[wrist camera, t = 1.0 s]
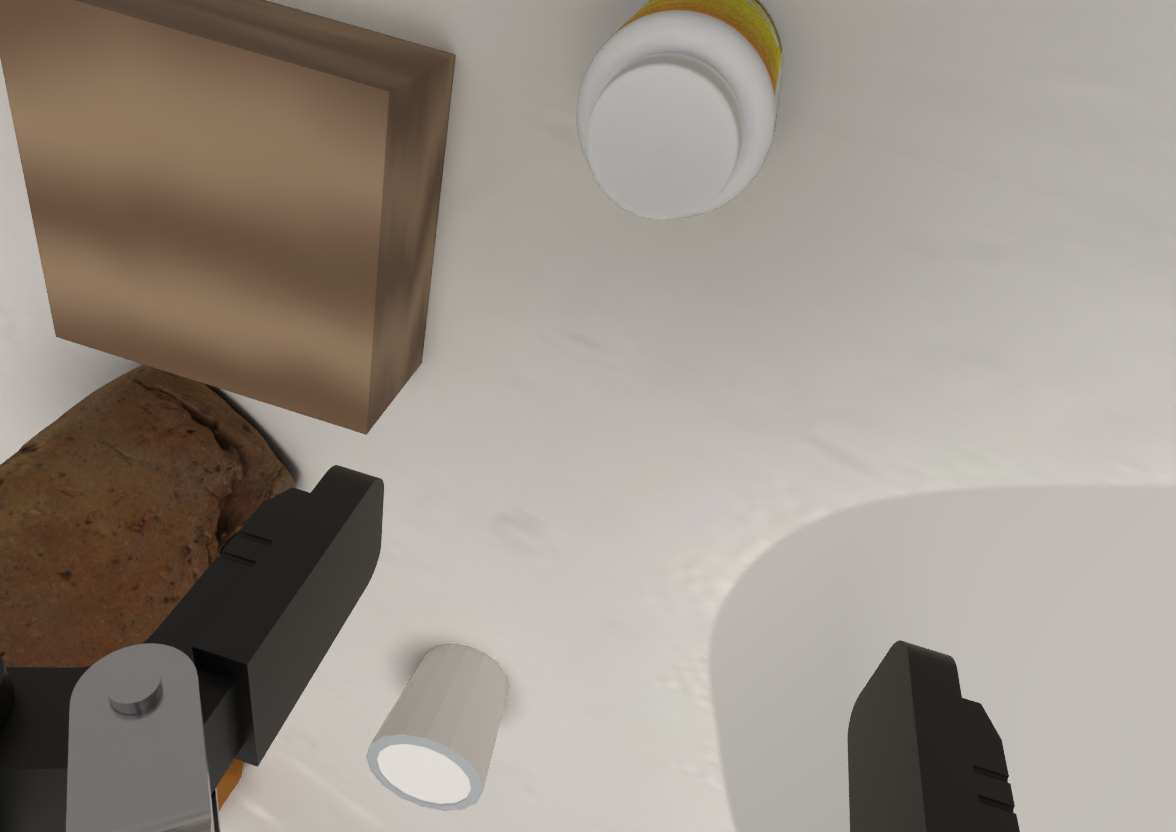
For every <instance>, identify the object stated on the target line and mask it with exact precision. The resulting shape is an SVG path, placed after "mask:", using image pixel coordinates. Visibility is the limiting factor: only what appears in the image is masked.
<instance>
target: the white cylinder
mask: <svg viewBox="0 0 1176 832" xmlns="http://www.w3.org/2000/svg"><path fill="white" fill-rule="evenodd" d="M508 688H509V687H508V681H507V676H506V674H505V673H504V671H503V670H502V668H501V667H500V665H499V664H498V663H497V662H495V661H494V660H493V659H491V658H490V657H489V656H487V655H486V654H485V653H482V652H480V651H478V650H475V649H473V648H471V647H468V646H461V645H454V644H448V645H442V646H436V647H435V648H433V649H432V650H431V651H429V652H428V653H426V655H425V657H424V658H423V660H422V662H421V663H420V665H419V666H418V668H417V670H416V671H415V673H414V674H413V676H412V678H411V679H410V681H409V683H408V684H407V686H406V687H405V689H404V691H403V692H402V694H401V696H400V697H399V699H398V700H397V702H396V704H395V705H394V707H393V709H392V710H391V712H390V713H389V715H388V717H387V718H386V720H385V721H384V723H383V725H382V726H381V728H380V730H379V731H378V733H377V734H376V736H375V738H374V739H373V741H372V743H371V744H370V747H369V750H368V753H367V755H366V758H367V761H368V764H369V767H370V770H371V772H372V773H373V774H374V775H375V776H376V778H377V779H378V780H379V781H380V782H381V783H382V785H384V786H385V787H386V788H388V789H389V790H391V791H392V792H394V793H395V794H397V795H398V796H399V797H401V798H403V799H406V800H408V801H410V802H413V803H415V804H418V805H420V806H423V807H428V808H433V809H438V810H443V811H445V810H461V809H465V808H467V807H469V806H471V805H473V804H475V803H477V801H478V799H479V797H480V796H481V794H482V792H483V789H484V785H485V781H486V776H487V772H488V768H489V764H490V760H491V756H492V752H493V748H494V744H495V740H496V736H497V732H498V728H499V724H500V720H501V716H502V712H503V708H504V704H505V700H506V696H507V692H508Z"/></svg>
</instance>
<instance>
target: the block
mask: <svg viewBox="0 0 1176 832" xmlns="http://www.w3.org/2000/svg"><path fill="white" fill-rule="evenodd" d="M291 487H292V488H294V480H293V478H292V476H291V475H290V473H289V472H288V470H287V469H286V467H285V466H284V465H283V464H282V463H281V461H280V460H278V459H277V457H276V456H275V454H274V453H273V452H272V450H271V449H270V447H269V446H268V444H267V442H266V441H265V439H264V438H263V437H262V436H261V435H260V434H259V432H258V431H257V430H256V429H255V428H254V427H253V426H251V425H250V424H249V423H248V422H247V421H246V420H245V419H244V418H242V417H241V416H240V415H239V414H238V413H237V412H235V411H234V410H233V409H232V408H231V407H230V406H229V405H228V404H227V403H226V402H225V401H224V400H223V399H222V398H221V397H220V396H219V395H217V394H216V393H215V392H214V391H212V390H211V389H210V388H209V387H207V386H206V385H205V384H203V383H201V382H198V381H195V380H192V379H189V378H185V377H182V376H179V375H176V374H173V373H170V372H166V371H163V370H160V369H157V368H154V367H151V366H147V365H142V366H140V367H138V368H136V369H134V370H132V371H130V372H128V373H126V374H124V375H122V376H120V377H118V378H116V379H115V380H113V381H111V382H109V383H108V384H106V385H104V386H103V387H101V388H99V389H98V390H96V391H95V392H93V393H92V394H90V395H89V396H87V397H86V398H84V399H83V400H82V401H80V402H79V403H78V404H76V405H75V406H74V407H72V408H71V409H70V410H68V411H67V412H66V413H64V414H63V415H62V416H61V417H60V418H59V419H57V420H56V421H55V422H53V423H52V424H50V425H49V426H48V427H46V428H45V429H43V430H42V431H41V432H39V433H38V434H37V435H36V436H34V437H33V438H32V439H31V440H29V441H28V442H27V443H26V444H24V445H23V446H22V447H21V449H20V450H19V451H18V452H17V453H15V454H14V455H13V456H11V457H10V458H9V459H8V460H6V461H5V462H4V463H2V464H1V465H0V656H1V658H2V659H3V662H4V664H5V667H51V668H74V667H86V666H92V665H93V664H94V663H96V662H97V661H99V660H100V659H102V658H103V657H105V656H107V655H108V654H110V653H112V652H114V651H117V650H119V649H122V648H125V647H129V646H133V645H138V644H142V643H143V642H144V641H145V640H147V639H148V638H149V637H150V636H151V635H152V634H153V633H154V632H155V631H156V629H157V628H158V627H159V626H160V625H161V623H162V622H163V621H164V620H165V619H166V617H167V616H168V615H169V614H170V613H171V611H172V610H173V609H174V608H175V607H176V605H177V604H178V603H179V602H180V601H181V599H182V598H183V597H184V596H185V595H186V593H187V592H188V591H189V590H190V589H191V587H192V586H193V585H194V584H195V583H196V582H197V580H198V579H199V578H200V577H201V576H202V574H203V573H204V572H205V571H206V570H207V568H208V567H209V566H210V565H211V564H212V562H213V561H214V560H215V559H216V558H217V556H219V557H220V556H221V554H222V550H223V549H224V548H225V547H226V546H227V544H228V543H229V542H230V541H231V540H232V538H233V537H234V536H235V535H236V536H237V535H238V534H239V530H240V529H241V528H242V526H243V525H244V524H245V523H246V522H247V521H248V519H249V518H250V517H251V516H252V515H253V513H254V512H255V511H256V510H257V509H258V507H259V506H260V505H262V504H263V503H265V502H267V501H268V500H270V499H272V498H274V497H275V496H277V495H279V494H280V493H282V492H284V491H286V490H287V489H289V488H291Z"/></svg>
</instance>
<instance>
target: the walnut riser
mask: <svg viewBox="0 0 1176 832" xmlns="http://www.w3.org/2000/svg"><path fill="white" fill-rule="evenodd" d="M0 58H1V63H2V68H3V73H4V78H5V83H6V88H7V93H8V98H9V103H10V108H11V113H12V118H13V123H14V128H15V133H16V138H17V143H18V148H19V153H20V158H21V163H22V168H23V173H24V178H25V183H26V188H27V193H28V198H29V203H30V208H31V213H32V218H33V223H34V228H35V233H36V238H37V243H38V248H39V253H40V258H41V264H42V269H43V274H44V279H45V284H46V289H47V294H48V299H49V304H50V309H51V314H52V319H53V324H54V329H55V334H56V337H59V338H62V339H65V340H68V341H71V342H74V343H78V344H81V345H84V346H87V347H90V348H94V349H97V350H100V351H103V352H106V353H109V354H113V355H116V356H119V357H122V358H125V359H128V360H132V361H135V362H138V363H141V364H144V365H147V366H151V367H154V368H157V369H160V370H163V371H166V372H170V373H173V374H176V375H179V376H182V377H185V378H189V379H192V380H195V381H198V382H201V383H205V384H208V385H211V386H214V387H217V388H220V389H224V390H227V391H230V392H233V393H236V394H239V395H243V396H246V397H249V398H252V399H255V400H258V401H262V402H265V403H268V404H271V405H274V406H277V407H281V408H284V409H287V410H290V411H293V412H296V413H300V414H303V415H306V416H309V417H312V418H316V419H319V420H322V421H325V422H328V423H331V424H335V425H338V426H341V427H344V428H347V429H350V430H354V431H357V432H360V433H363V434H366V435H367V433H368V432H369V431H370V429H371V428H372V427H373V425H374V424H375V423H376V422H377V420H378V419H379V418H380V416H381V415H382V414H383V412H384V411H385V410H386V409H387V407H388V406H389V405H390V403H391V402H392V401H393V399H394V398H395V397H396V396H397V394H398V393H399V392H400V390H401V389H402V388H403V386H404V385H405V384H406V383H407V381H408V380H409V379H410V377H411V376H412V375H413V373H414V372H415V371H416V370H417V368H418V367H419V366H420V364H421V363H422V354H423V345H424V336H425V327H426V318H427V309H428V299H429V290H430V281H431V272H432V263H433V254H434V245H435V236H436V226H437V217H438V208H439V199H440V190H441V181H442V172H443V163H444V153H445V144H446V135H447V126H448V117H449V108H450V99H451V90H452V80H453V71H454V62H455V55H453V54H450V53H446V52H443V51H439V50H436V49H432V48H429V47H425V46H422V45H418V44H415V43H411V42H408V41H404V40H401V39H397V38H394V37H390V36H387V35H383V34H380V33H376V32H373V31H369V30H366V29H362V28H359V27H355V26H352V25H348V24H345V23H341V22H338V21H334V20H331V19H327V18H324V17H320V16H317V15H313V14H310V13H306V12H303V11H299V10H296V9H292V8H289V7H285V6H282V5H278V4H275V3H271V2H268V1H264V0H0Z"/></svg>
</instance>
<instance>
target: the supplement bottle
mask: <svg viewBox="0 0 1176 832" xmlns="http://www.w3.org/2000/svg"><path fill="white" fill-rule="evenodd" d="M781 75H782V49H781V43H780V39H779V35H778V32H777V29H776V27H775V24H774V22H773V20H772V19H771V17H770V15H769V14H768V12H767V11H766V9H765V8H764V6H763V5H762V4H761V3H760V2H759V1H758V0H650V1H649V2H648V3H647V4H646V5H645V6H644V7H643V8H642V9H641V10H640V11H639V12H637V13H636V14H635V15H634V16H633V17H632V18H631V19H630V20H629V21H628V22H627V23H625V24H624V25H623V26H622V27H621V28H620V29H619V30H618V31H617V32H616V33H614V34H613V35H612V36H611V37H610V38H609V39H608V40H607V41H606V42H605V44H604V45H603V46H602V48H601V49H600V50H599V51H598V53H597V54H596V56H595V57H594V59H593V60H592V62H591V64H590V65H589V67H588V69H587V71H586V73H585V76H584V79H583V82H582V85H581V89H580V92H579V97H578V104H577V127H578V134H579V139H580V143H581V147H582V150H583V153H584V155H585V157H586V160H587V162H588V164H589V166H590V168H591V171H592V173H593V176H594V177H595V179H596V181H597V183H598V184H599V186H600V187H601V189H602V190H603V191H604V193H605V194H606V195H607V196H608V197H609V198H610V199H611V200H612V201H614V202H615V203H616V204H617V205H619V206H620V207H622V208H623V209H625V210H627V211H629V212H631V213H633V214H635V215H638V216H641V217H644V218H649V219H656V220H668V219H677V218H681V217H690V216H695V215H700V214H703V213H706V212H709V211H711V210H714V209H716V208H718V207H720V206H722V205H723V204H725V203H727V202H728V201H730V200H731V199H733V198H734V197H735V196H737V195H738V194H739V193H740V192H741V191H742V190H743V189H744V188H745V187H746V186H747V185H748V184H749V183H750V182H751V180H752V179H753V178H754V177H755V175H756V174H757V173H758V171H759V169H760V167H761V166H762V164H763V162H764V160H765V158H766V156H767V153H768V151H769V148H770V145H771V142H772V139H773V135H774V131H775V124H776V115H777V108H778V100H779V92H780V84H781Z"/></svg>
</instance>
